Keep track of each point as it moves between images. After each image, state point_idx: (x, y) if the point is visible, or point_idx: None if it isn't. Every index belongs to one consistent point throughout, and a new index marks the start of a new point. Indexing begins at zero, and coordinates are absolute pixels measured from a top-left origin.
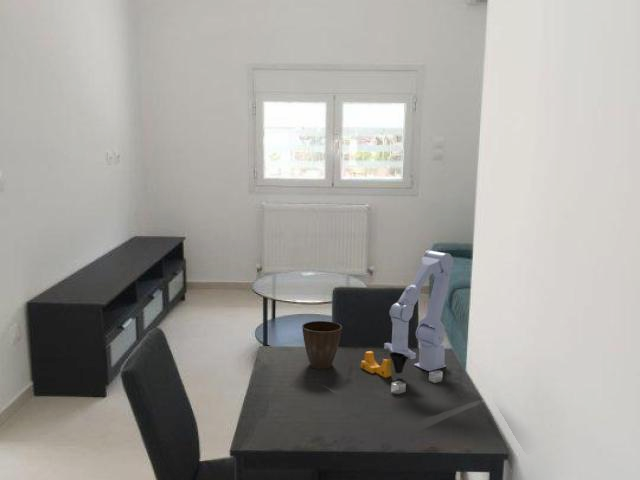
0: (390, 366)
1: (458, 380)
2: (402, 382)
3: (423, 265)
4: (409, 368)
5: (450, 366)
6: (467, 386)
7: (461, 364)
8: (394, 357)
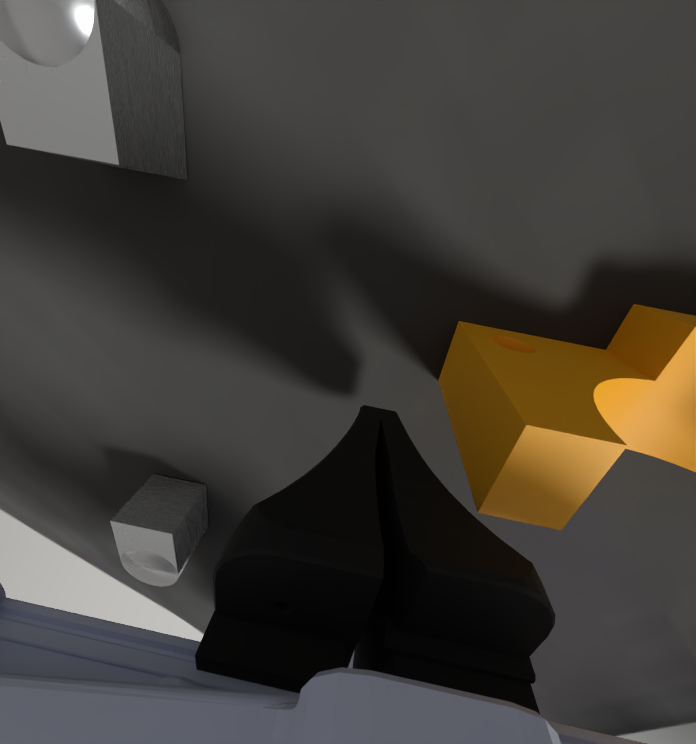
0: (462, 431)
1: None
2: (45, 132)
3: None
4: None
5: None
6: (44, 527)
7: None
8: (399, 540)
